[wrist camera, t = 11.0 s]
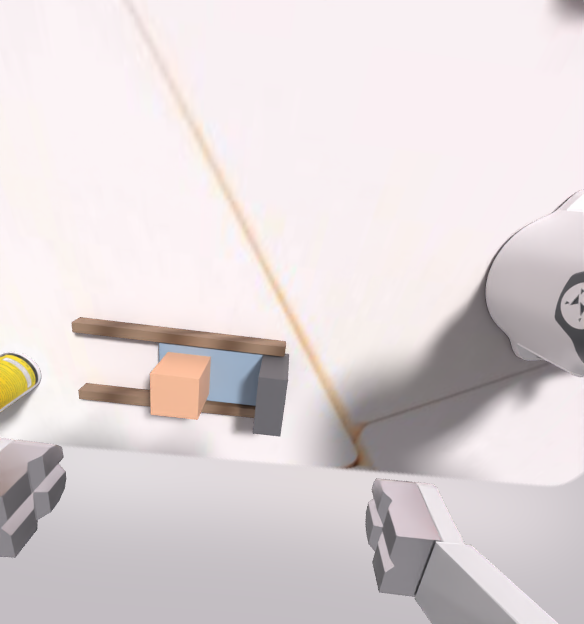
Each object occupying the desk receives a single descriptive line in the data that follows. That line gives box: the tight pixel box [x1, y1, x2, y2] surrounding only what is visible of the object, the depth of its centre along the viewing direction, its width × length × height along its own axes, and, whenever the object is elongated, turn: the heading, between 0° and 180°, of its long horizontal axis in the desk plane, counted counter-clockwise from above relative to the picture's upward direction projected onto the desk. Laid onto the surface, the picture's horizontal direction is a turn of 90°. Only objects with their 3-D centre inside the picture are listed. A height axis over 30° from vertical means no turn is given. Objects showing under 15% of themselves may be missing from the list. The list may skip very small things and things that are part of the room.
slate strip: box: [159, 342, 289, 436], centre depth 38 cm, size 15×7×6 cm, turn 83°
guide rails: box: [72, 317, 286, 418], centre depth 40 cm, size 24×10×2 cm, turn 83°
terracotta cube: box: [150, 352, 211, 420], centre depth 37 cm, size 5×5×5 cm
